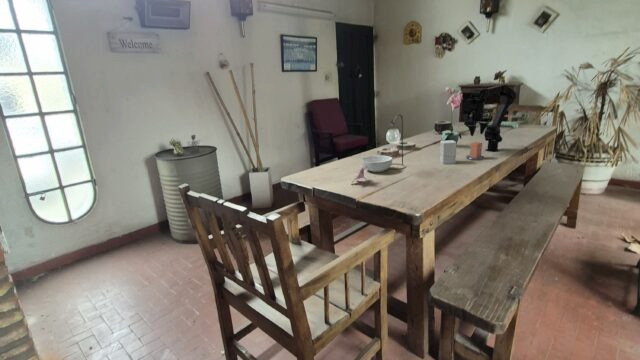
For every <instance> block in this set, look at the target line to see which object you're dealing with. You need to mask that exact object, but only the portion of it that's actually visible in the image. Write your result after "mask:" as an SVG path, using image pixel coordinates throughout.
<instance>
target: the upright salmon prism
mask: <svg viewBox="0 0 640 360" xmlns="http://www.w3.org/2000/svg"><path fill="white" fill-rule="evenodd" d="M469 147H470V149H469V155H470V157H474V158H478V157H481V156H482V151H483V149H482V148H483V142H478V141H473V142H470V146H469Z"/></svg>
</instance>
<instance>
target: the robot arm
mask: <svg viewBox="0 0 640 360" xmlns="http://www.w3.org/2000/svg"><path fill="white" fill-rule="evenodd" d="M497 93H498V96H500V98H499V102H500V104H499V106H498V109H497V112H496V114H495V116H494V117H493V121H492V118H491V117H488V116H487V117H485V116H484V114H485V113H486V111H485V103H487V102H488V100H487V99H486V98H488V97H489V96H491V95H493V94H494V95H495V94H497ZM516 98H517V92H516V91H515V90H514V89H512V88H510V87H509V86H508V85H507V84H498V85H495V86H490V87H487V88H475V89H474V90H473V92H472V94H471V95H470V97H469V98H468V99H466V100H465V102H464V103H463V105H462V109H463V111H464V112H470V113H471V114H468V113H464V114H463V116H462V118H463V120H464V123H463V125H465V127H467V128H468V130H469V132H470V133H469V134H470V136H471V137H474V135H475V132H476V129H477V124H479V133H480V135H483V133H484V139H485V140H484V141H486V142H487V148H486V149H485V151H487V152H492V153H494V152H498V151H500V150H501V149H500V148H499V143H501V142H502V141H503V137H502V136H501V125H502V123H503V121H504V118H505V116H506V114H507V111H508V109H509V106H511V105H512V104H514V102H515V101H516ZM491 122H492V123H491ZM490 123H491V125H490V126H489V124H490Z"/></svg>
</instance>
